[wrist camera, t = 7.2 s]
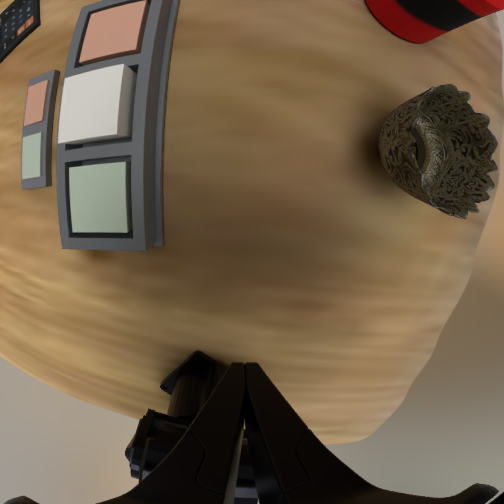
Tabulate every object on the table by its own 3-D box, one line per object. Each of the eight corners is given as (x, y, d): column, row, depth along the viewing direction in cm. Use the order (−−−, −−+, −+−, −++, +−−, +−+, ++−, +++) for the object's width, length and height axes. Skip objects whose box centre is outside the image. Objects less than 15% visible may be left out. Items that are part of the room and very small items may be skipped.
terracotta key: (146, 60, 14) (135, 49, 12) (94, 70, 14) (79, 62, 12) (155, 14, 13) (146, 0, 11) (104, 25, 13) (91, 14, 11)
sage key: (139, 224, 18) (127, 232, 16) (88, 224, 18) (72, 232, 16) (138, 161, 17) (125, 161, 15) (86, 166, 17) (69, 167, 14)
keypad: (164, 244, 19) (152, 257, 16) (78, 242, 19) (59, 253, 16) (179, 1, 13) (172, -19, 10) (94, 18, 13) (79, 5, 10)
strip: (51, 185, 17) (43, 186, 16) (27, 188, 17) (19, 190, 16) (59, 71, 14) (52, 68, 13) (34, 81, 14) (27, 79, 13)
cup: (334, 160, 18) (392, 160, 10) (377, 86, 16) (441, 58, 9) (404, 214, 19) (471, 242, 12) (440, 144, 18) (509, 147, 10)
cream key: (132, 137, 15) (116, 134, 13) (77, 144, 15) (57, 143, 12) (137, 74, 14) (124, 63, 11) (82, 85, 13) (64, 78, 11)
